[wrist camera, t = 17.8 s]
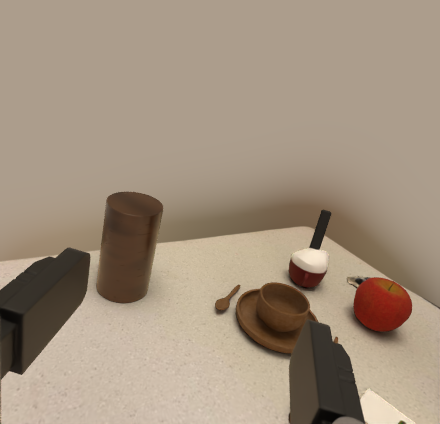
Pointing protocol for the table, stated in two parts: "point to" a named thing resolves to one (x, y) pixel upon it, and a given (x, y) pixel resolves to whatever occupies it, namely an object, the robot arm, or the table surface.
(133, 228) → the brown cylinder
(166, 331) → the table surface
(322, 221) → the cocoa
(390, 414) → the flat white panel
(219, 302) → the place setting
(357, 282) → the geode slice
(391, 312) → the apple
